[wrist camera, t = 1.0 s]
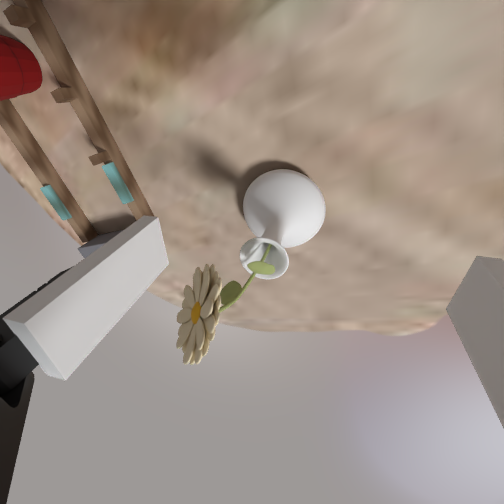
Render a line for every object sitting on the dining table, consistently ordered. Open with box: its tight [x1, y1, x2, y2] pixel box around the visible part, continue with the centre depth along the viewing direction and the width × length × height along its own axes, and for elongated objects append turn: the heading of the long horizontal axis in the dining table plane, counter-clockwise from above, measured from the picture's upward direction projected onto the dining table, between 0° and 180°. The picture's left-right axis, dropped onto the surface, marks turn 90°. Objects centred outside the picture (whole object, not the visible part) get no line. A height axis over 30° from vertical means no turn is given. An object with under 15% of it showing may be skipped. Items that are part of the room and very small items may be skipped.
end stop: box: [78, 229, 125, 258], centre depth 46 cm, size 2×13×5 cm, turn 108°
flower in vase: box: [177, 169, 326, 365], centre depth 27 cm, size 13×11×25 cm
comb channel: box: [0, 0, 154, 243], centre depth 39 cm, size 31×16×4 cm, turn 18°
